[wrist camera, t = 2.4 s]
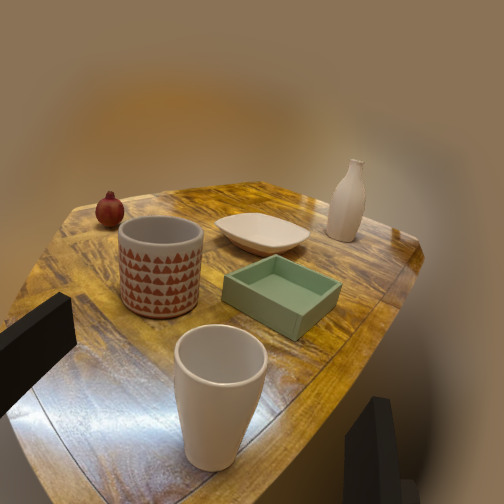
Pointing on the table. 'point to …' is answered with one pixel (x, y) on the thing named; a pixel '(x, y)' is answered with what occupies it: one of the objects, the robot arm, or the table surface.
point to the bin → (281, 294)
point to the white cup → (217, 391)
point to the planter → (160, 265)
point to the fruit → (109, 210)
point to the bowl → (262, 233)
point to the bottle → (347, 205)
